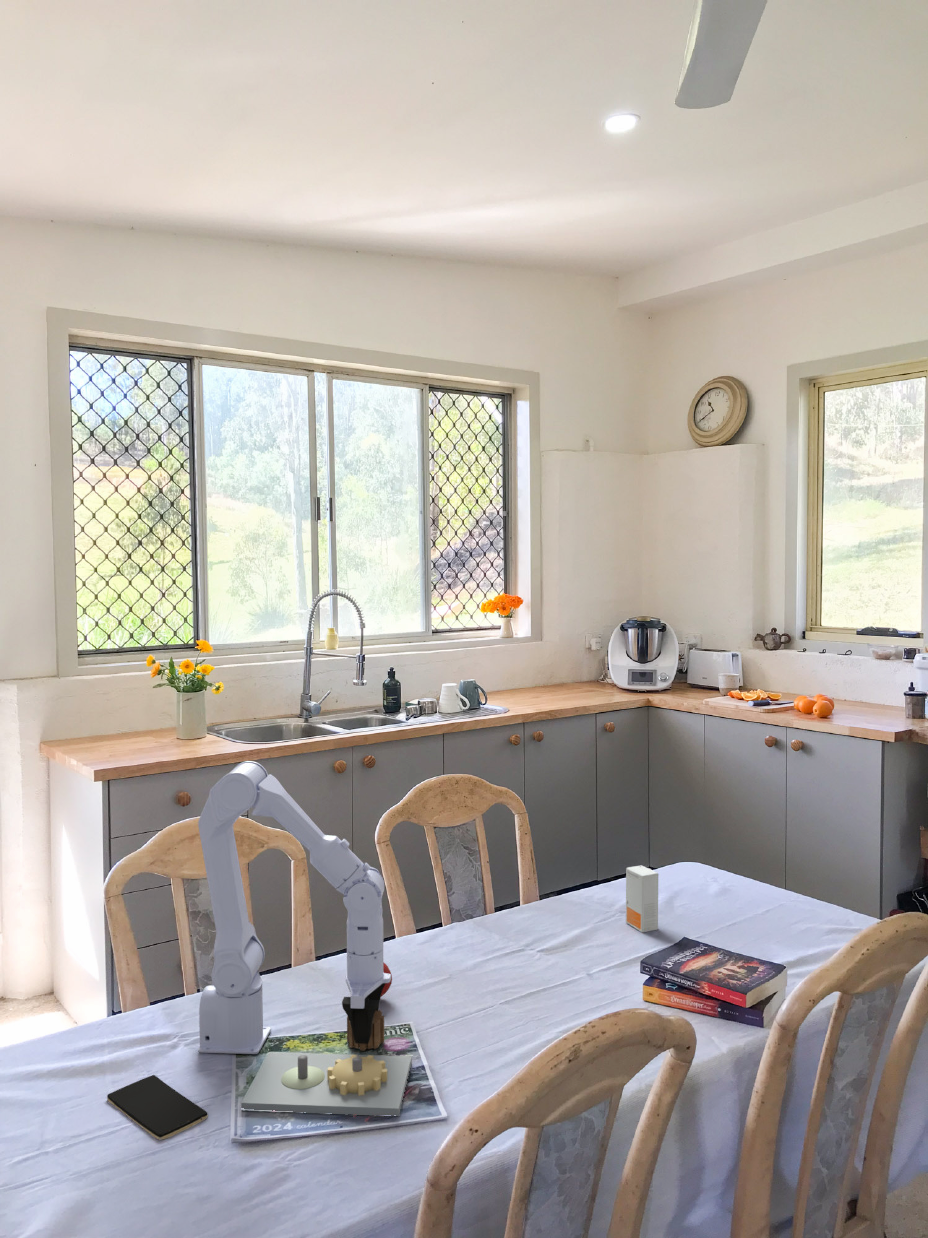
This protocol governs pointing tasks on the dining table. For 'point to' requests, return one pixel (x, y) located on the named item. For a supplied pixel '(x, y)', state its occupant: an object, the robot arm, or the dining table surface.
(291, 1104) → the gear board
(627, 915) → the skincare box
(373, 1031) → the walnut gear
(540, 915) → the dining table surface
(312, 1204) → the dining table surface
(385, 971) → the onion
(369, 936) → the robot arm
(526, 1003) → the dining table surface
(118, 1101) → the smartphone
